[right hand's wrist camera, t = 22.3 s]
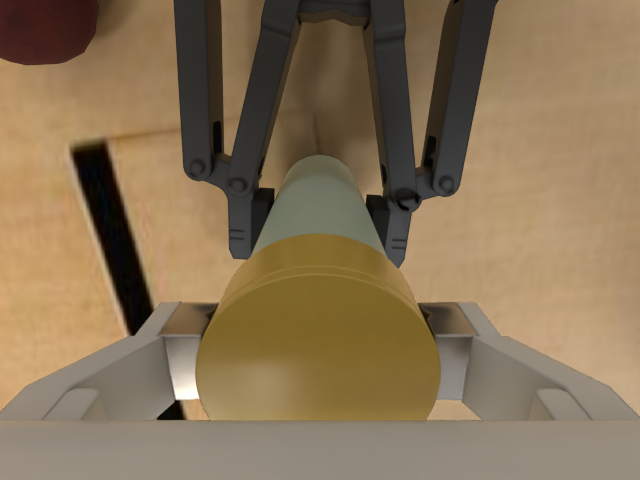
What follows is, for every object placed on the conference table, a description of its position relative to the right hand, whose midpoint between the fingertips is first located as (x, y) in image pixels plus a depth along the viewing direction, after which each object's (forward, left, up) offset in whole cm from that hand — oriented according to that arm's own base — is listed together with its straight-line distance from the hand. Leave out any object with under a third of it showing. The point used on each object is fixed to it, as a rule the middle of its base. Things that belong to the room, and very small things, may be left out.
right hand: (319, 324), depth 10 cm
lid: (0, 0, +2) cm, 2 cm away
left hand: (-3, -4, -9) cm, 10 cm away
